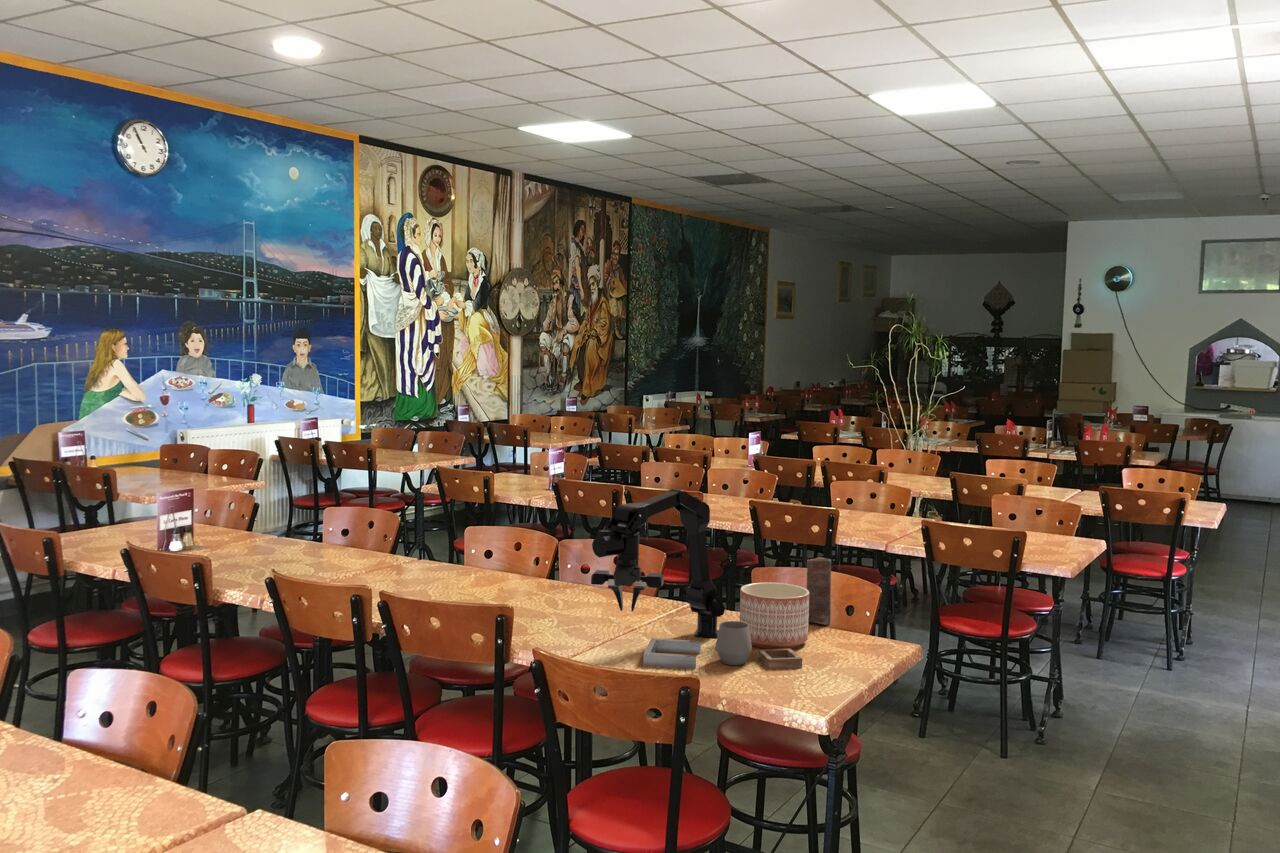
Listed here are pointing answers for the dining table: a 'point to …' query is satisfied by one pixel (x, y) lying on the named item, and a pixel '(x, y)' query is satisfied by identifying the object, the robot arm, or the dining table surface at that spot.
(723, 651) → the cup
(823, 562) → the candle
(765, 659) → the square wooden tray
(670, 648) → the grey square frame
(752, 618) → the planter
